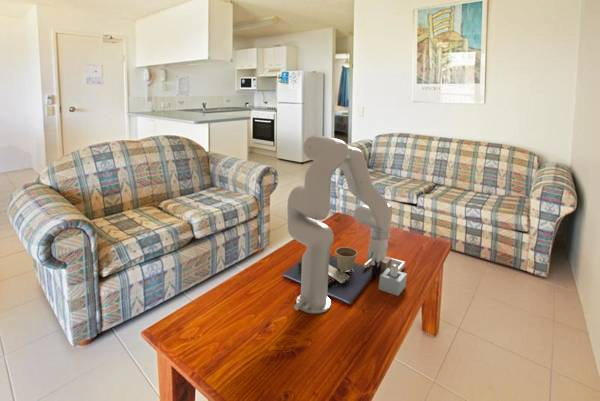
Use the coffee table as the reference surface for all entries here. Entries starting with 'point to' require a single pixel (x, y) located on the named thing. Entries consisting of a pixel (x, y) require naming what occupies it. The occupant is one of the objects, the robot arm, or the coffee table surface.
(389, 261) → the walnut block
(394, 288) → the bore block
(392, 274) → the pin
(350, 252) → the flower pot
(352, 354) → the coffee table surface
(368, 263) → the u-shaped frame
